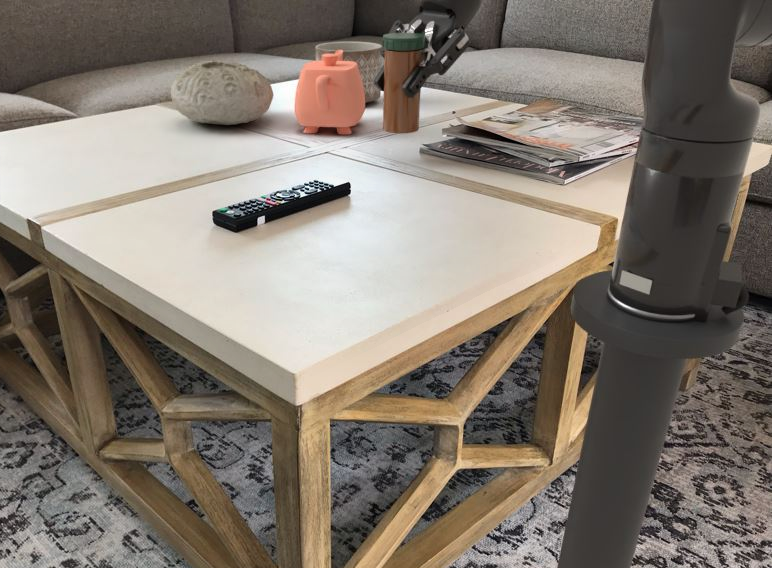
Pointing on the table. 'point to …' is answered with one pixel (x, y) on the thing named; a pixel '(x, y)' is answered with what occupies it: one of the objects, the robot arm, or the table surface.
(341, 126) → the teapot
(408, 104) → the jar
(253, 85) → the grey rounded lump
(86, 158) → the table surface
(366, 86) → the planter
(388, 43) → the lid
